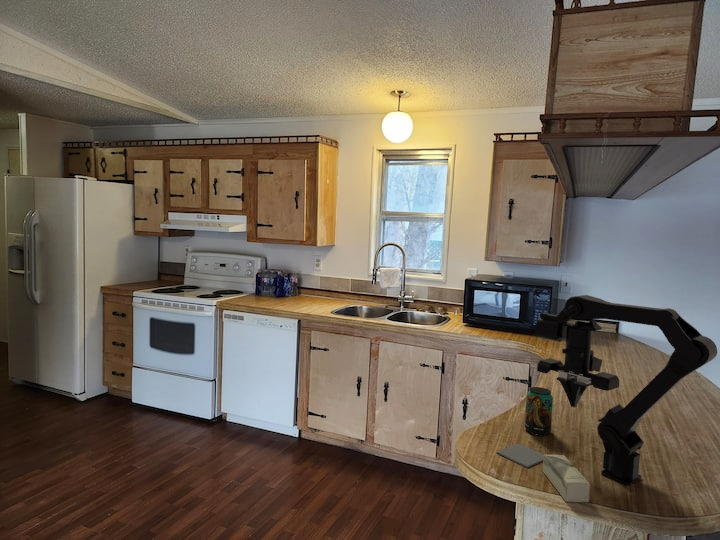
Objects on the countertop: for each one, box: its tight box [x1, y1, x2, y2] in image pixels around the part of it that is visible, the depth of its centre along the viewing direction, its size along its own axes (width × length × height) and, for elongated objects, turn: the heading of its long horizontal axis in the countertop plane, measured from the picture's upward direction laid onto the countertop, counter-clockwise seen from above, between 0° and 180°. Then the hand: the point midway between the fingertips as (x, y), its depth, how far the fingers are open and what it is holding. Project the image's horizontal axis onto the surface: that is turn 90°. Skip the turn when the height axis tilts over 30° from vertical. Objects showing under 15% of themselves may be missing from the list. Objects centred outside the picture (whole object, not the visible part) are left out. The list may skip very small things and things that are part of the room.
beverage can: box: [524, 386, 554, 436], centre depth 136 cm, size 7×7×12 cm
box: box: [542, 454, 591, 503], centre depth 106 cm, size 5×4×13 cm
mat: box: [496, 443, 545, 469], centre depth 120 cm, size 9×9×1 cm
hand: (573, 406), depth 120 cm, fingers closed
